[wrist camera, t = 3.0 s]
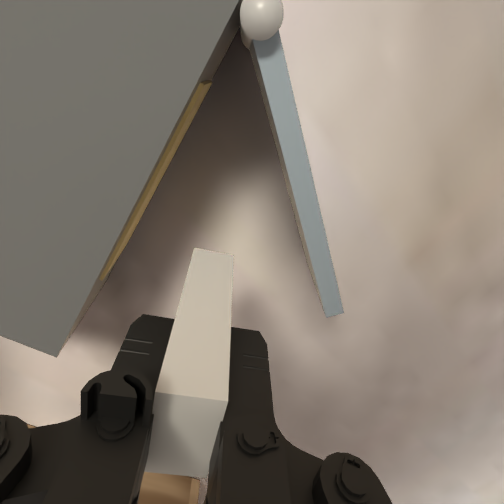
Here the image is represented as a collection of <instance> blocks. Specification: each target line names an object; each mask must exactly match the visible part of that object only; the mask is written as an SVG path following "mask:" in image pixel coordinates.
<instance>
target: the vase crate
mask: <svg viewBox="0 0 504 504" xmlns="http://www.w3.org/2000/svg"><path fill="white" fill-rule="evenodd" d="M27 426H28V428H35V427H34V426H31V425H28V424H27ZM199 485H200V480H197V479H194V478H191V477H188V476H181V475H171V474H161V473H152V472H144V475H143V479H142V483H141V487H140V494H139V501H138V504H198V495H199Z"/></svg>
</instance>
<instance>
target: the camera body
mask: <svg viewBox="0 0 504 504" xmlns="http://www.w3.org/2000/svg"><path fill="white" fill-rule="evenodd" d="M242 1H243V0H0V336H2V337H5V338H8V339H10V340H13V341H15V342H18V343H21V344H23V345H26V346H28V347H31V348H34V349H36V350H39V351H41V352H44V353H46V354H49V355H52V356H54V357H57V356H58V355H59V353H60V351H61V350H62V348H63V347H64V345H65V344H66V342H67V341H68V339H69V338H70V336H71V335H72V333H73V331H74V330H75V328H76V327H77V325H78V324H79V322H80V321H81V319H82V318H83V316H84V314H85V313H86V311H87V310H88V308H89V307H90V305H91V304H92V302H93V301H94V299H95V297H96V296H97V294H98V293H99V291H100V290H101V288H102V287H103V285H104V284H105V282H106V280H107V278H108V276H109V274H110V272H111V270H112V268H113V266H114V265H115V263H116V261H117V259H118V257H119V255H120V254H121V252H122V251H123V249H124V248H125V246H126V245H127V243H128V241H129V239H130V238H131V236H132V234H133V232H134V230H135V228H136V226H137V224H138V222H139V220H140V219H141V217H142V215H143V213H144V211H145V209H146V207H147V205H148V203H149V202H150V200H151V198H152V196H153V194H154V192H155V190H156V188H157V186H158V185H159V183H160V181H161V179H162V177H163V175H164V173H165V171H166V169H167V168H168V166H169V164H170V162H171V160H172V158H173V156H174V154H175V152H176V150H177V149H178V147H179V145H180V143H181V141H182V139H183V137H184V135H185V133H186V132H187V130H188V128H189V126H190V124H191V122H192V120H193V118H194V116H195V115H196V113H197V111H198V109H199V107H200V105H201V103H202V101H203V99H204V97H205V96H206V94H207V92H208V90H209V88H210V86H211V84H212V81H211V80H212V78H213V76H214V74H215V73H216V71H217V69H218V67H219V65H220V63H221V61H222V59H223V57H224V55H225V54H226V52H227V50H228V48H229V46H230V44H231V42H232V40H233V38H234V36H235V35H236V33H237V31H238V29H239V27H240V8H241V4H242Z"/></svg>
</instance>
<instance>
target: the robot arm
mask: <svg viewBox="0 0 504 504" xmlns="http://www.w3.org/2000/svg"><path fill="white" fill-rule="evenodd" d="M233 263H234V255H232V254H227V253H221V252H216V251H210V250H205V249H200V248H194V251H193V254H192V258H191V262H190V265H189V269H188V273H187V276H186V280H185V284H184V287H183V291H182V295H181V298H180V302H179V306H178V309H177V313H176V317H175V319H171V318H164V317H158V316H152V315H145V314H143V315H142V316H141V317H139V318H138V319H137V320H136V321H135V322H133V323H132V324H131V326H130V328H129V330H128V333H127V335H126V337H125V340H124V342H123V344H122V346H121V349H120V352H119V353H118V355H117V358H116V360H115V362H114V364H113V367H112V369H111V370H110V371H106V372H103V373H100V374H99V375H97V376H95V377H94V378H92V379H91V380H89V381H88V383H87V384H86V385H85V386H84V388H83V389H82V390H81V415H80V416H78V417H76V418H73V419H71V420H69V421H65V422H62V423H58V424H52V425H46V426H41V427H35V428H28V426H27V423H25V422H24V421H22V420H21V419H19V418H18V417H15V416H9V415H0V504H138V501H139V494H140V487H141V483H142V479H143V475H144V472H152V473H161V474H171V475H181V476H191V477H201V478H207V476H208V488H207V494H206V497H205V501H204V504H392V502H391V500H390V498H389V497H388V495H387V493H386V491H385V489H384V487H383V486H382V484H381V482H380V480H379V479H378V477H377V476H376V474H375V473H374V472H373V470H372V469H371V468H370V467H369V466H368V465H367V464H366V463H365V462H363V461H362V460H361V459H360V458H358V457H355V456H353V455H351V454H349V453H340V452H336V453H334V454H331V455H329V456H327V457H326V459H325V460H321V459H319V458H317V457H315V456H313V455H310V454H308V453H306V452H304V451H302V450H300V449H298V448H296V447H295V446H293V445H292V444H291V443H290V442H288V441H287V440H286V439H285V438H284V436H283V435H282V434H281V432H280V430H279V429H278V427H277V425H276V423H275V418H274V412H273V402H272V392H271V381H270V372H269V361H268V351H267V343H266V342H265V340H264V338H263V337H262V335H261V334H260V332H259V331H254V330H247V329H241V328H235V327H231V314H232V289H233ZM208 472H209V475H208Z"/></svg>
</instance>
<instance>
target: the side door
mask: <svg viewBox="0 0 504 504" xmlns="http://www.w3.org/2000/svg"><path fill="white" fill-rule="evenodd" d="M282 21H283V5H282V2H281V0H243V1H242V4H241V8H240V27H241V39H242V42H243V44H244V45H245V47H247V48H248V49H249V50H250V53H251V57H252V61H253V64H254V68H255V72H256V75H257V79H258V83H259V86H260V90H261V94H262V98H263V101H264V105H265V109H266V112H267V116H268V120H269V123H270V127H271V131H272V134H273V138H274V142H275V145H276V149H277V153H278V157H279V160H280V164H281V168H282V171H283V175H284V179H285V182H286V186H287V190H288V193H289V197H290V201H291V204H292V208H293V212H294V216H295V219H296V223H297V227H298V230H299V234H300V238H301V241H302V245H303V249H304V252H305V256H306V260H307V263H308V266H309V269H310V272H311V275H312V278H313V281H314V284H315V287H316V290H317V292H318V295H319V298H320V301H321V304H322V307H323V310H324V313H325V316H326V318H327V317H331V316H335V315H338V314H342V313H344V311H343V307H342V302H341V298H340V294H339V289H338V285H337V281H336V276H335V272H334V268H333V263H332V259H331V255H330V250H329V246H328V242H327V237H326V233H325V229H324V224H323V220H322V216H321V212H320V207H319V203H318V199H317V194H316V190H315V186H314V181H313V177H312V173H311V168H310V164H309V160H308V155H307V151H306V147H305V142H304V138H303V134H302V129H301V125H300V121H299V116H298V112H297V108H296V103H295V99H294V95H293V90H292V86H291V82H290V77H289V73H288V69H287V64H286V60H285V56H284V51H283V47H282V43H281V39H280V34H279V28H280V26H281V24H282Z"/></svg>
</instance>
